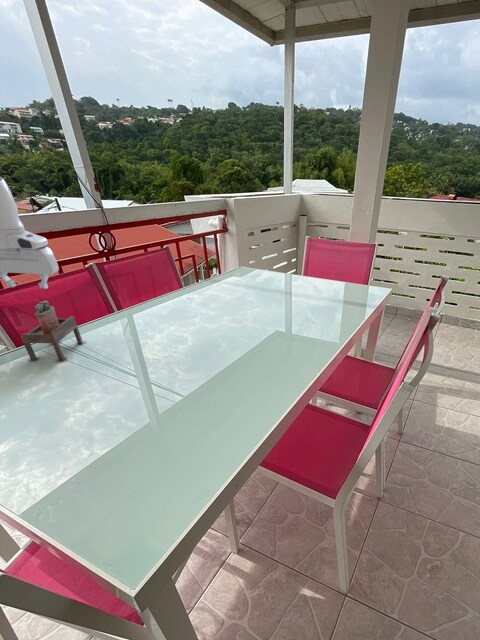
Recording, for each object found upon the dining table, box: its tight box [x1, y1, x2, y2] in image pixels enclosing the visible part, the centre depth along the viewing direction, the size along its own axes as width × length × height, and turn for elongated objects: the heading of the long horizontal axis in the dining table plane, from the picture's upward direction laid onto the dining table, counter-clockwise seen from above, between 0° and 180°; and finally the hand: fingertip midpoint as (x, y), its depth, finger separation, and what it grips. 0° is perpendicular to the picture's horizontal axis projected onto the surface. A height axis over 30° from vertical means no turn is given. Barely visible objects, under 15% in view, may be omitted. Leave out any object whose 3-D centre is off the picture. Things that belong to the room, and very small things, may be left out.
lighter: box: [34, 300, 59, 334], centre depth 108 cm, size 8×3×10 cm, turn 7°
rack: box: [20, 315, 84, 362], centre depth 112 cm, size 10×14×10 cm
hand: (28, 287), depth 102 cm, fingers open, 8 cm apart
